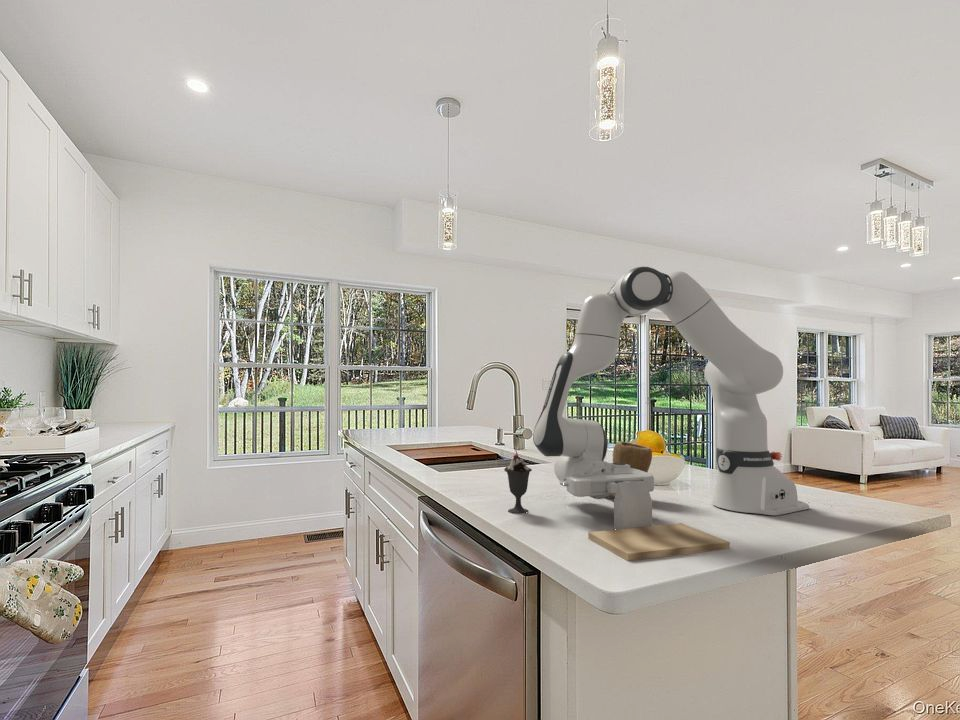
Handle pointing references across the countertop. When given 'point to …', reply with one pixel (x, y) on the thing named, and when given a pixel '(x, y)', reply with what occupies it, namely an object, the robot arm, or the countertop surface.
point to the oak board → (657, 541)
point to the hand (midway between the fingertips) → (629, 490)
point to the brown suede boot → (632, 456)
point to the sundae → (518, 481)
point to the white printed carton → (632, 505)
